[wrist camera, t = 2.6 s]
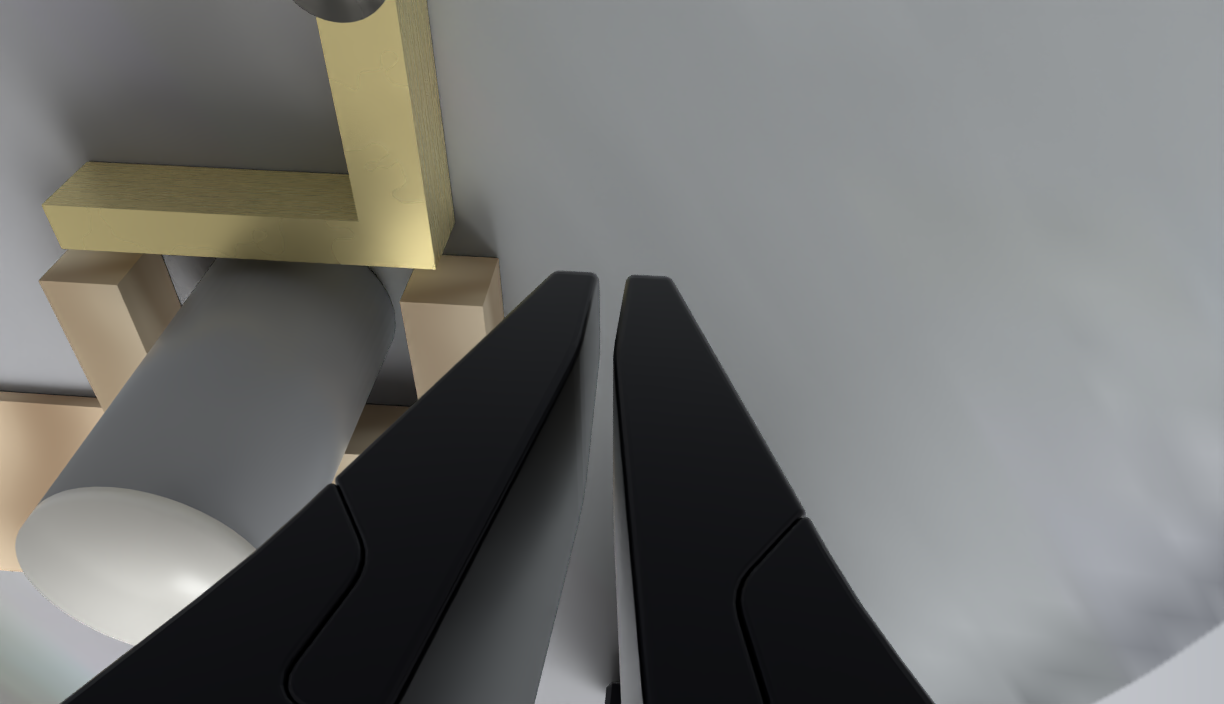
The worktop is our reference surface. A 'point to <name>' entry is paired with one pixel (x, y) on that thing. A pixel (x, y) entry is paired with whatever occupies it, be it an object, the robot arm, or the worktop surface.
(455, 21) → the worktop surface
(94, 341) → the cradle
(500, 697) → the robot arm
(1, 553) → the wooden panel
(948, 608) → the worktop surface
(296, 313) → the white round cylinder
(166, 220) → the yellow l-shaped bracket
